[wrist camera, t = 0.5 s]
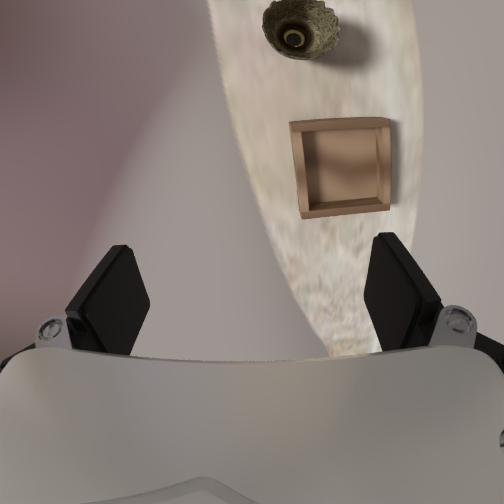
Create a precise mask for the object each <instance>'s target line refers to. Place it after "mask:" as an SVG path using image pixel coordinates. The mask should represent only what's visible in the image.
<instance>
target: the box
mask: <svg viewBox="0 0 504 504" xmlns="http://www.w3.org/2000/svg"><path fill="white" fill-rule="evenodd" d="M289 127H290V135H291V142H292V150H293V158H294V166H295V175H296V184H297V193H298V203H299V211H300V215H301V218H302V219H311V218H320V217H329V216H338V215H347V214H357V213H367V212H377V211H388V210H390V192H391V145H390V122H389V119H386V118H382V117H350V118H329V119H315V120H303V121H293V122H289Z"/></svg>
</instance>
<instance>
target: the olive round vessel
mask: <svg viewBox="0 0 504 504" xmlns="http://www.w3.org/2000/svg"><path fill="white" fill-rule="evenodd" d="M337 25H338V17H337V16H335V15H334V10H333V9H331V8H325V2H324V1H317V0H279V1H278V2H276V1H273V2H272V3H271V4H270V6H269V8H267V9H266V10H265V11H264V14H263V25H262V29H263V31H264V33H265V37H266V39H267V40H268V42H269V43H270V45H271V46H272V47H273V48H274V49H275V50H276V51H277V52H278V53H280V54H281V55H283V56H285V57H288V58H291V59H297V60H305V59H315V58H318V57H319V56H322V55H324V54H325V53H327V52H329V51H331V50H332V49H333V47H334V46H335V45H336V44H338V42H339V37H338V34H339V33H340V31H341V28H340V27H337ZM290 34H297V35H298V36H299V37H300V39H301V41H300V43H299V44H298V45H291V44H289V43H288V41H287V37H288V35H290Z"/></svg>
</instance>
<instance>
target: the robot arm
mask: <svg viewBox="0 0 504 504" xmlns="http://www.w3.org/2000/svg"><path fill="white" fill-rule="evenodd" d="M364 301H365V304H366V307H367V309H368V312H369V315H370V317H371V320H372V323H373V325H374V328H375V331H376V334H377V337H378V339H379V342H380V345H381V348H382V351H383V352H376V353H367V354H358V355H349V356H339V357H327V358H314V359H298V360H275V361H200V360H178V359H161V358H148V357H137V356H130V353H131V351H132V348H133V346H134V343H135V341H136V338H137V336H138V334H139V331H140V329H141V327H142V324H143V322H144V320H145V317H146V315H147V312H148V310H149V308H150V300H149V297H148V295H147V292H146V289H145V286H144V283H143V281H142V277H141V275H140V272H139V269H138V266H137V262H136V260H135V256H134V253H133V250H132V249H131V248H129V247H128V246H127V245H115V246H112V247H111V249H110V250H109V251H108V252H107V254H106V255H105V256H104V258H103V259H102V260H101V261H100V263H99V264H98V265H97V266H96V268H95V269H94V270H93V272H92V273H91V274H90V276H89V277H88V278H87V280H86V281H85V282H84V284H83V285H82V286H81V288H80V289H79V290H78V292H77V293H76V295H75V296H74V298H73V299H72V300H71V302H70V303H69V305H68V306H67V308H66V309H65V312H66V314H67V316H68V317H67V319H66V320H65V319H64V318H63V317H62V316H53V317H51V318H48V319H46V320H45V321H44V322H43V323H41V324H40V326H39V327H38V328H37V330H36V333H35V343H34V344H32V345H30V346H28V347H26V348H24V349H23V350H21V351H19V352H17V353H16V354H14V355H12V356H10V357H8V358H6V359H5V360H3V361H2V363H1V365H0V504H504V345H503V344H500V343H498V342H496V341H494V340H492V339H490V338H488V337H486V336H484V335H482V334H480V333H478V332H477V322H476V319H475V317H474V316H473V315H472V313H471V312H469V311H468V310H467V309H465V308H463V307H460V306H456V305H450V306H446V307H444V306H443V305H442V303H441V298H440V297H439V295H438V294H437V292H436V291H435V289H434V288H433V286H432V285H431V283H430V282H429V280H428V279H427V277H426V276H425V274H424V273H423V271H422V270H421V269H420V267H419V266H418V264H417V263H416V261H415V260H414V259H413V257H412V256H411V255H410V253H409V252H408V250H407V249H406V248H405V246H404V245H403V244H402V242H401V241H400V240H399V239H398V237H397V236H396V235H395V233H393V232H383V233H379V234H378V236H376V237H374V239H373V244H372V250H371V257H370V263H369V268H368V274H367V279H366V284H365V289H364Z"/></svg>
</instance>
